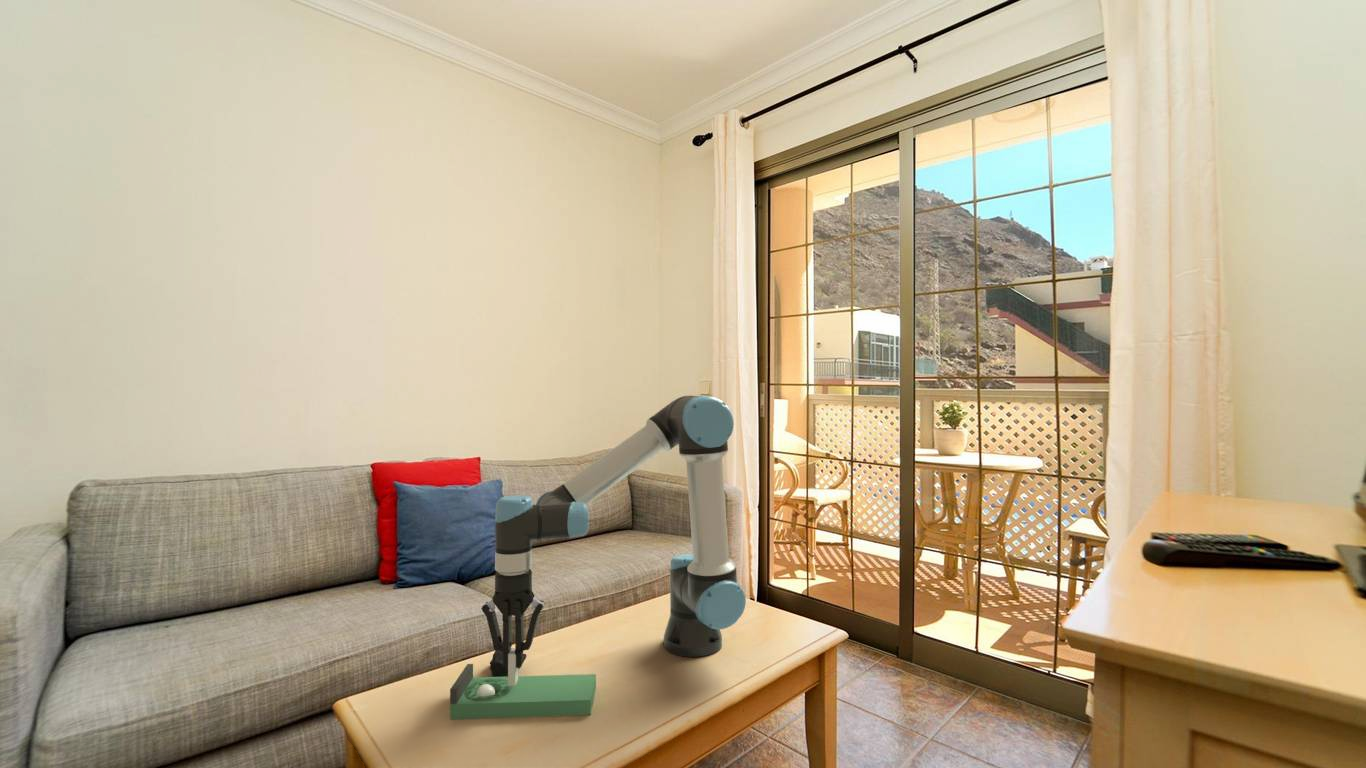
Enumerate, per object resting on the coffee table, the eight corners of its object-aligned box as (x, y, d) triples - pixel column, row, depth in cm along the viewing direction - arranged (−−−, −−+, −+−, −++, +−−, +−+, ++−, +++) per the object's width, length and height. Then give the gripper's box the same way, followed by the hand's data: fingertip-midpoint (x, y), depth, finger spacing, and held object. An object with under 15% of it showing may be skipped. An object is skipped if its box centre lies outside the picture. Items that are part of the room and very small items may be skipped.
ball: (486, 678, 126) (475, 696, 125) (480, 681, 122) (468, 699, 121) (501, 689, 125) (490, 707, 124) (495, 692, 121) (483, 711, 120)
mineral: (472, 677, 135) (472, 651, 135) (501, 661, 143) (501, 637, 143) (504, 687, 130) (505, 661, 130) (533, 671, 138) (533, 646, 138)
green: (595, 687, 130) (595, 660, 130) (590, 714, 119) (590, 685, 119) (467, 691, 128) (467, 663, 129) (450, 719, 117) (450, 689, 118)
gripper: (547, 564, 128) (547, 673, 128) (487, 565, 127) (486, 674, 127) (541, 575, 121) (541, 690, 120) (477, 576, 120) (476, 692, 119)
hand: (513, 682), depth 124 cm, fingers closed
